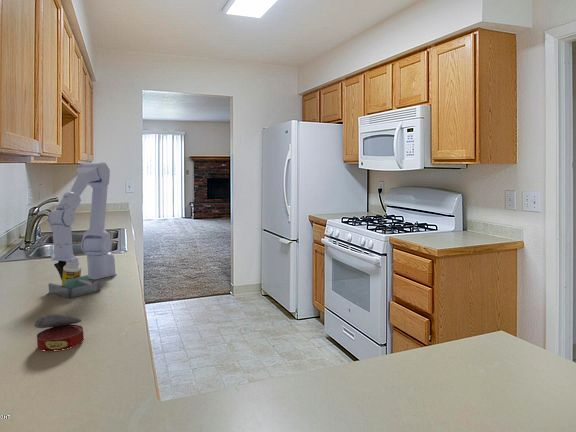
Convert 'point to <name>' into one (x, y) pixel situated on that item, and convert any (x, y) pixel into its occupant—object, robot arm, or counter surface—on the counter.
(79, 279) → the pusher
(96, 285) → the grey piece
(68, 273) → the supplement bottle
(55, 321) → the canned food
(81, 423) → the counter surface
